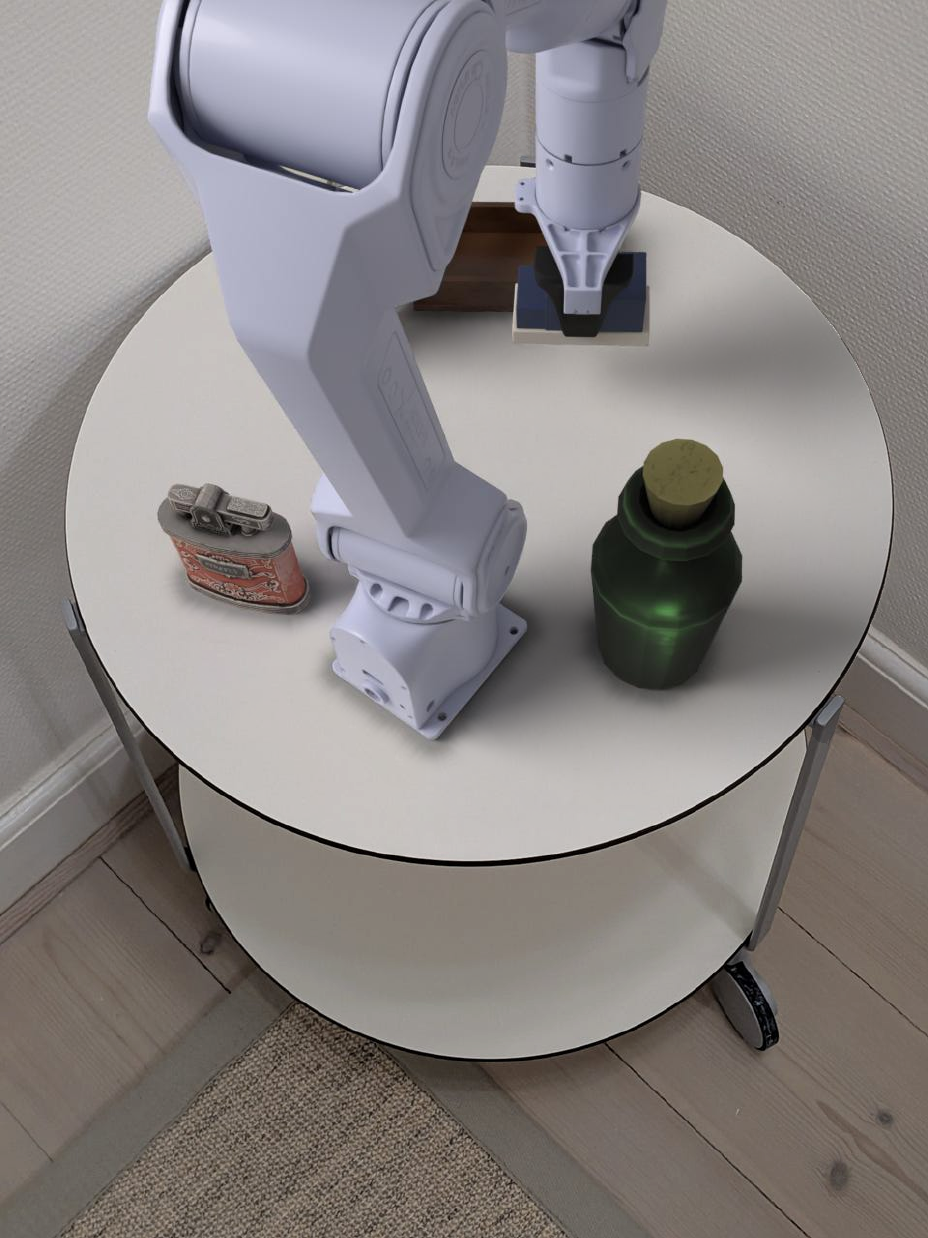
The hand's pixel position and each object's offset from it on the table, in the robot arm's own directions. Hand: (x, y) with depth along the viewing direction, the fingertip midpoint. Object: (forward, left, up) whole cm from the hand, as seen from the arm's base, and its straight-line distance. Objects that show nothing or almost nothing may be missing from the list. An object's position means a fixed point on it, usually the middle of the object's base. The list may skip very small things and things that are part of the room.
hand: (581, 304), depth 78 cm
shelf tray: (+5, +10, -7) cm, 13 cm away
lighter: (-25, +7, -8) cm, 27 cm away
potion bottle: (-14, -15, -8) cm, 22 cm away
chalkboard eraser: (0, 0, -1) cm, 1 cm away
